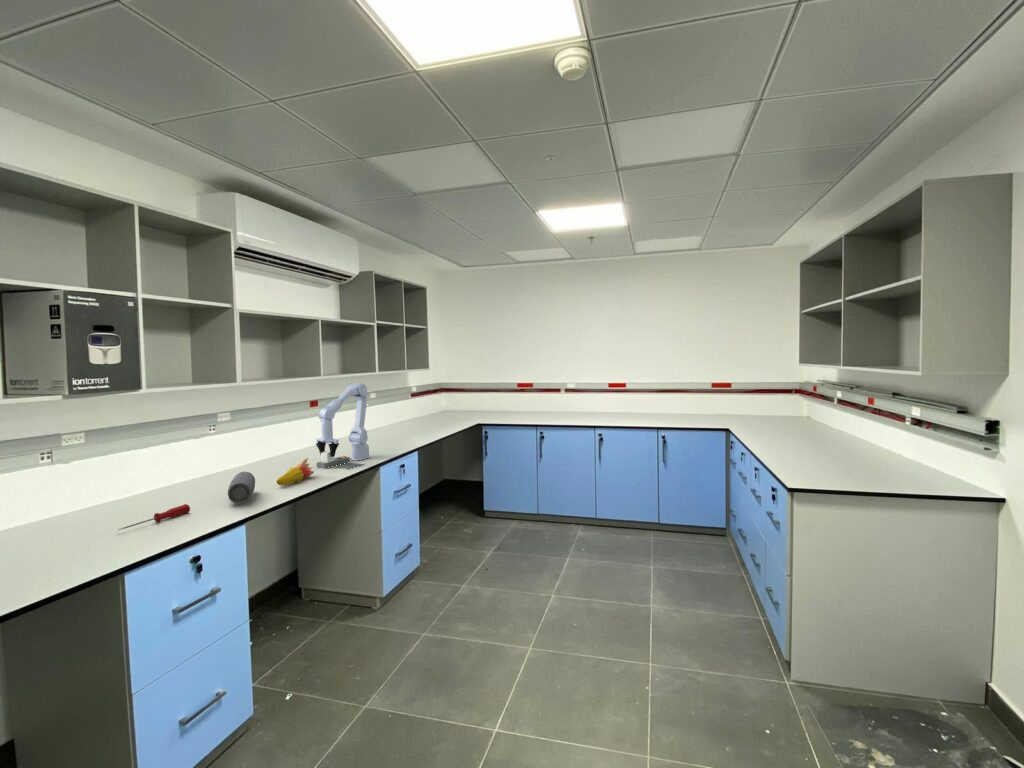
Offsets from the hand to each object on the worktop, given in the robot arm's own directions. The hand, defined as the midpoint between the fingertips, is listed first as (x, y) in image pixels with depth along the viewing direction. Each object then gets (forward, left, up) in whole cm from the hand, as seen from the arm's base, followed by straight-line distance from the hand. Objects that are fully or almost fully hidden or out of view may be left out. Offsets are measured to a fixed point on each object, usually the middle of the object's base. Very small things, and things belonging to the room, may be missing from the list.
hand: (327, 455), depth 268 cm
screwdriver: (+94, +15, -6) cm, 95 cm away
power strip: (-4, 0, -6) cm, 7 cm away
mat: (-5, +10, -6) cm, 13 cm away
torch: (+31, +11, -6) cm, 33 cm away
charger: (0, 0, -4) cm, 4 cm away
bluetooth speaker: (+61, +16, -6) cm, 63 cm away
